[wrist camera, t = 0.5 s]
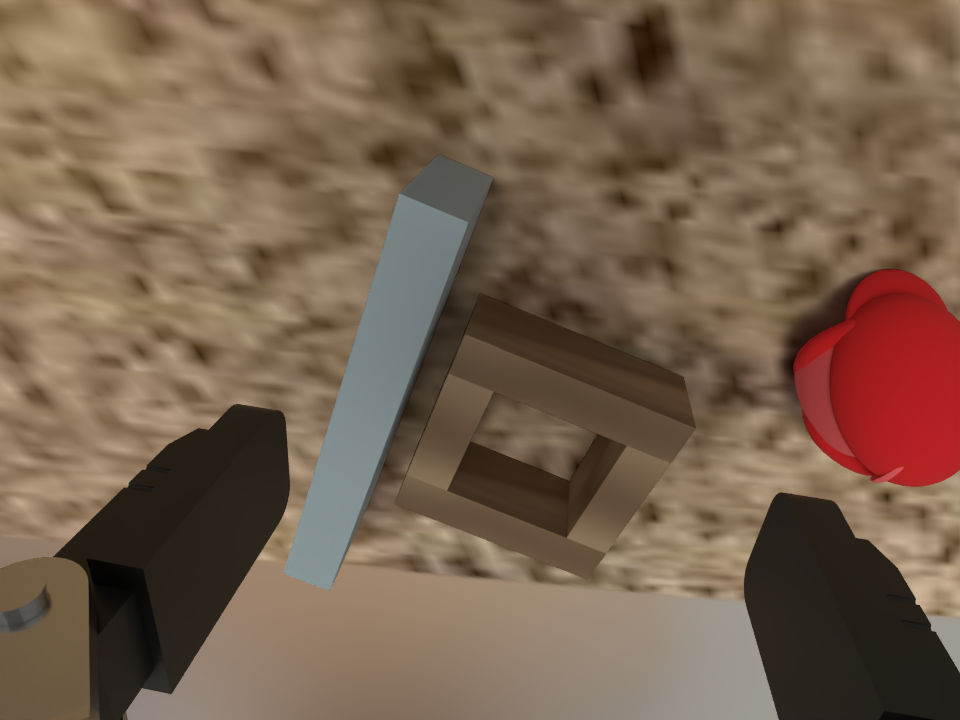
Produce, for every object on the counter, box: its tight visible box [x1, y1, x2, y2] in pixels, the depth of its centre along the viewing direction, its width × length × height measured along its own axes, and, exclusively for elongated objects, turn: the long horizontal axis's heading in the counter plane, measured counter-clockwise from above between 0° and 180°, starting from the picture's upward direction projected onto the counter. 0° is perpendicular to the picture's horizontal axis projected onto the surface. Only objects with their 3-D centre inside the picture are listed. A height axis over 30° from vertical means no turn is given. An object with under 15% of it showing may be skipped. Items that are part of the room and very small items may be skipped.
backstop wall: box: [284, 155, 493, 591], centre depth 28 cm, size 20×2×6 cm, turn 159°
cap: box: [793, 269, 960, 487], centre depth 24 cm, size 8×6×6 cm
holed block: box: [395, 293, 696, 579], centre depth 29 cm, size 10×10×4 cm
